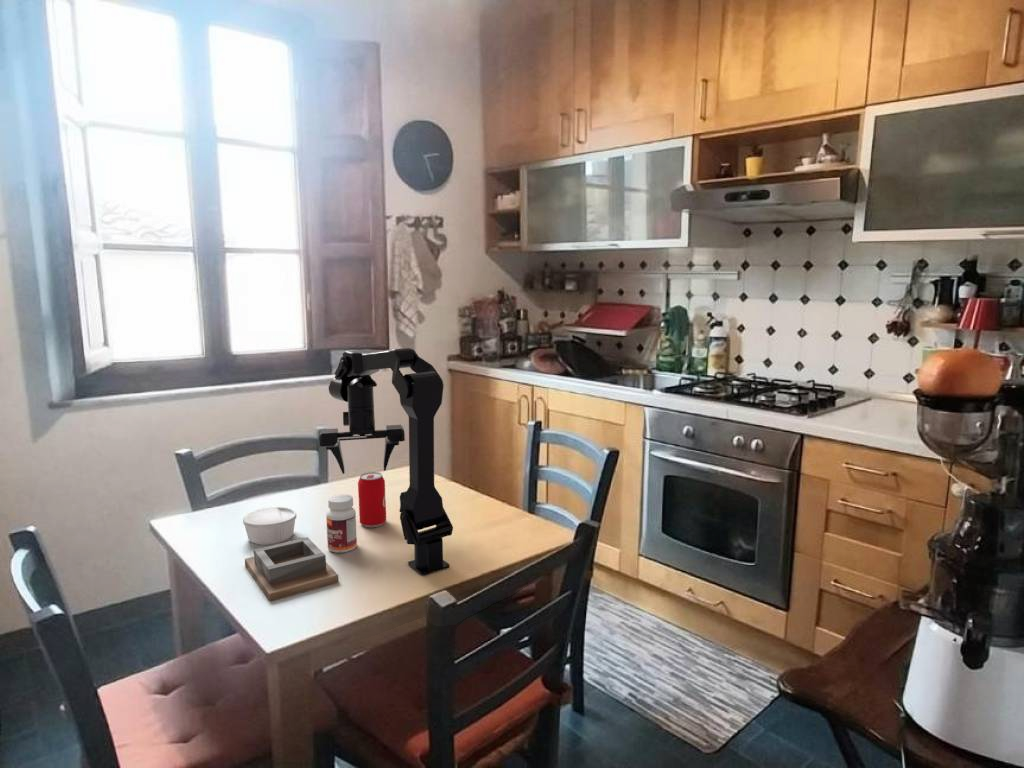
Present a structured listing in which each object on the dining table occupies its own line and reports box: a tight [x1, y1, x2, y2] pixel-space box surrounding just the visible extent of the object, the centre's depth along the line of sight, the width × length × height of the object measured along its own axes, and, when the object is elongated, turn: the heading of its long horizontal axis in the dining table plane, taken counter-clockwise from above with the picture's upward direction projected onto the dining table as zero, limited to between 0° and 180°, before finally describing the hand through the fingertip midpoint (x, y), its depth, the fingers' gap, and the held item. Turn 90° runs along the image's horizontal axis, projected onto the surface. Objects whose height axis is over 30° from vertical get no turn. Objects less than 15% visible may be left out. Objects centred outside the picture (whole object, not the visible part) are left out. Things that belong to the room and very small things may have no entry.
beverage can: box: [357, 471, 387, 528], centre depth 154 cm, size 6×6×12 cm
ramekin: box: [242, 506, 297, 546], centre depth 147 cm, size 11×11×5 cm
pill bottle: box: [325, 494, 358, 554], centre depth 140 cm, size 6×6×11 cm
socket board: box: [244, 536, 340, 602], centre depth 129 cm, size 18×13×4 cm
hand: (364, 471), depth 149 cm, fingers open, 9 cm apart
